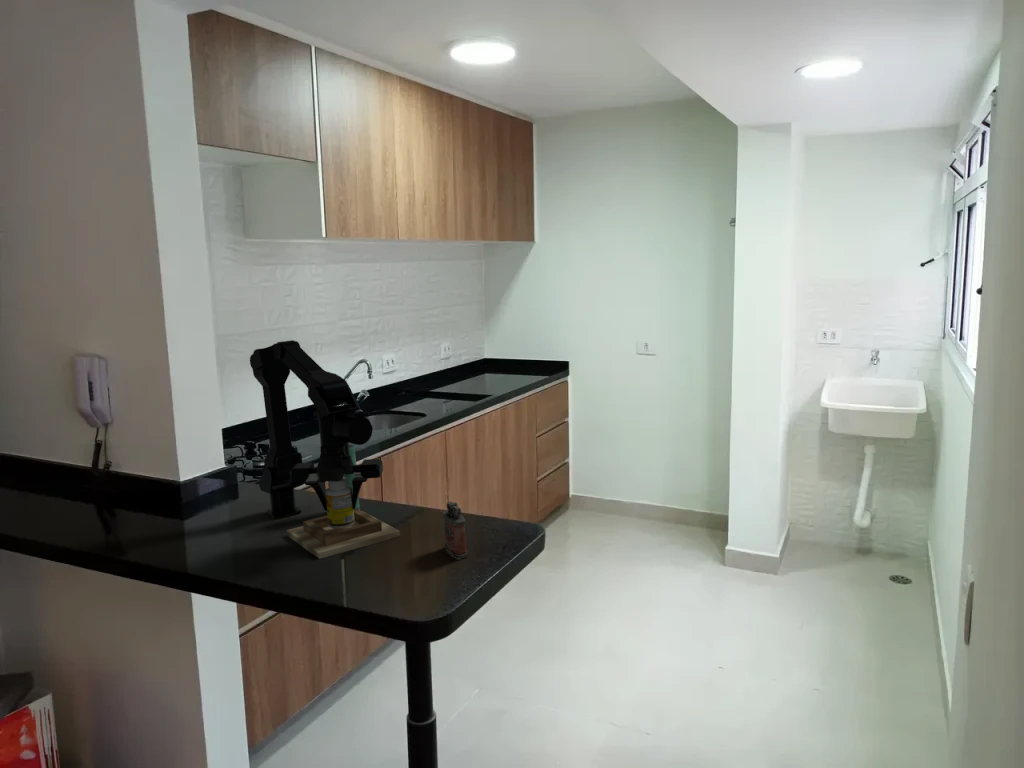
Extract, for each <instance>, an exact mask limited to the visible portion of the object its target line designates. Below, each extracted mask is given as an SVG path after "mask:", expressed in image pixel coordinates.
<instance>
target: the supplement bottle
mask: <svg viewBox="0 0 1024 768" xmlns="http://www.w3.org/2000/svg"><path fill="white" fill-rule="evenodd" d="M327 482H328V483H327V484H328V488H327V487H326V491H325V494H326V505H327V511H326V514H327V515H328V524H329V526H330V527H331V528H334V529H343V528H347V527H350V526H352V525H353V524H354V509H353V505H352V488H351V487H350V486H348V482H347V478H346V477H343V479H342V480H341V481H338V482H335V481H327ZM327 515H326V516H327Z"/></svg>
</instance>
